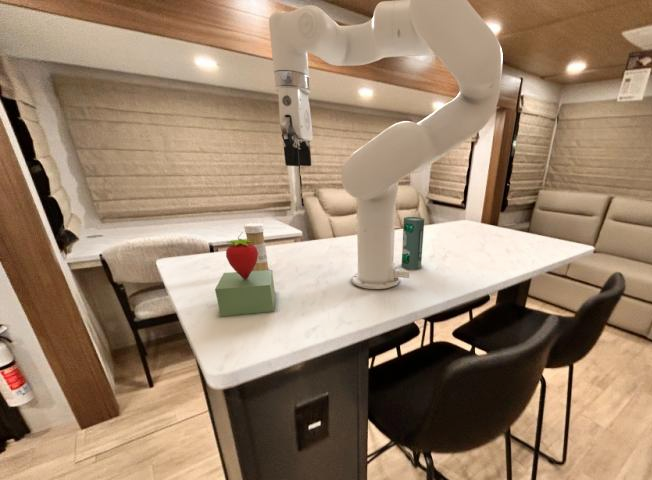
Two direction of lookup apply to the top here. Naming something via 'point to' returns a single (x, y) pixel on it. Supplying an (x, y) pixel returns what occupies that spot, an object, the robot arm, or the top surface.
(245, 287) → the green block
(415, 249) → the can
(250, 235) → the sprinkles bottle
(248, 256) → the strawberry
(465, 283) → the top surface
